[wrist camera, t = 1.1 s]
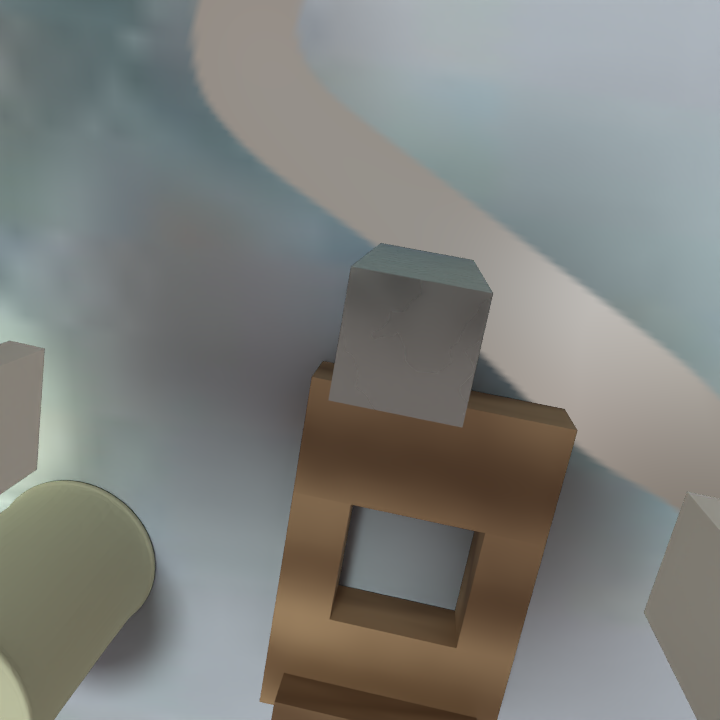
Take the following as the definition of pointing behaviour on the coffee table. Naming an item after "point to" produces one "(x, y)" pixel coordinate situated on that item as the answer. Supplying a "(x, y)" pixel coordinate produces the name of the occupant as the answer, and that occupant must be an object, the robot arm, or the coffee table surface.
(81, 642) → the can
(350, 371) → the grey square block
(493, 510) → the jig
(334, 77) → the coffee table surface
